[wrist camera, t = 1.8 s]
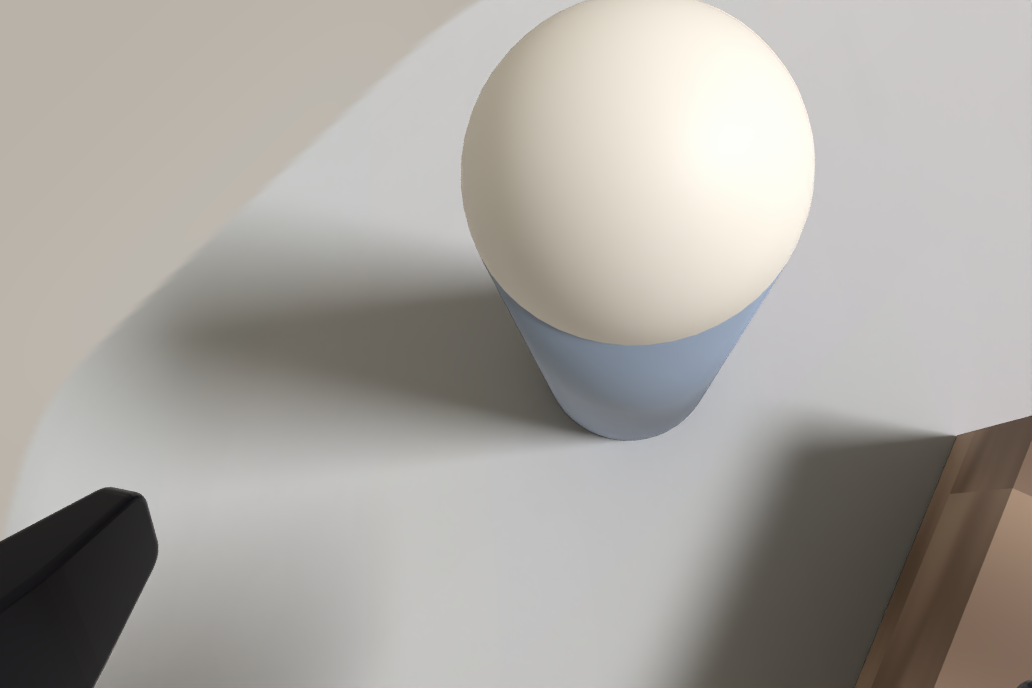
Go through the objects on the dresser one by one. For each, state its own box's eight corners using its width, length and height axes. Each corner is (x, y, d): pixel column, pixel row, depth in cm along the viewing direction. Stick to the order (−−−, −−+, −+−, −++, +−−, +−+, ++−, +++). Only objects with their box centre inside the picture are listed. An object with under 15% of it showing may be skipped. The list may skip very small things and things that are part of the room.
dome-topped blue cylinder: (669, 468, 20) (752, 372, 7) (518, 396, 21) (353, 196, 8) (738, 318, 20) (926, -18, 8) (587, 253, 21) (536, -145, 9)
